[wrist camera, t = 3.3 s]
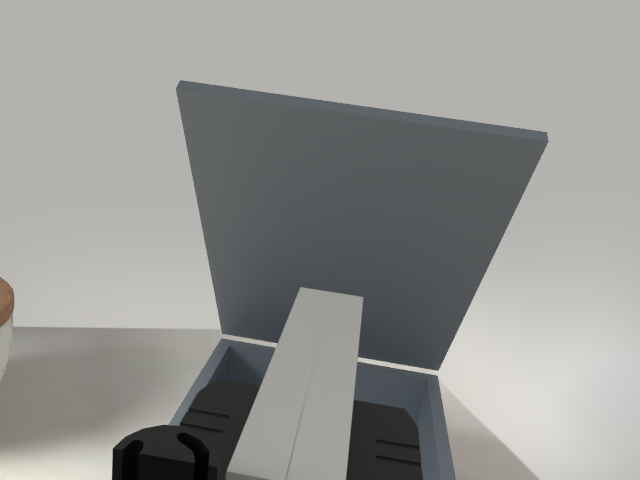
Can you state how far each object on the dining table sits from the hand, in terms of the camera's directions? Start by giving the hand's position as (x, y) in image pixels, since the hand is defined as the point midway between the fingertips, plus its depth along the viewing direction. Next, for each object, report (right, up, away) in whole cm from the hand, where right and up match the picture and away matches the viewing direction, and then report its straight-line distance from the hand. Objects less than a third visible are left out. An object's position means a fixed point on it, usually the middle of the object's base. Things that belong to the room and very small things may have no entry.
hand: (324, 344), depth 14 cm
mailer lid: (+1, +1, +19) cm, 19 cm away
